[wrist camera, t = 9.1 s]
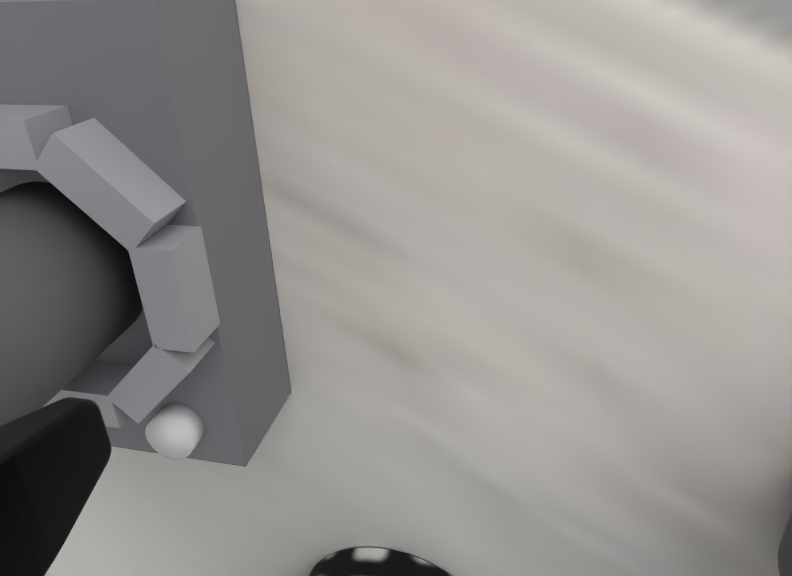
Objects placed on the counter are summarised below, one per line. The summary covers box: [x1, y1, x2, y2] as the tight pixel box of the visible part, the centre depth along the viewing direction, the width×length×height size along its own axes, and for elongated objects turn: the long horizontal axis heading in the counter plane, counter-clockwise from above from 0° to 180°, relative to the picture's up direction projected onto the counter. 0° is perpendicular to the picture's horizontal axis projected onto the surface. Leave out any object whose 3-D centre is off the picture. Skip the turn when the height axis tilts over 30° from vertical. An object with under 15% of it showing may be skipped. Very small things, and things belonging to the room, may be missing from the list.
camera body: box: [0, 0, 291, 467], centre depth 20 cm, size 9×14×6 cm, turn 2°
